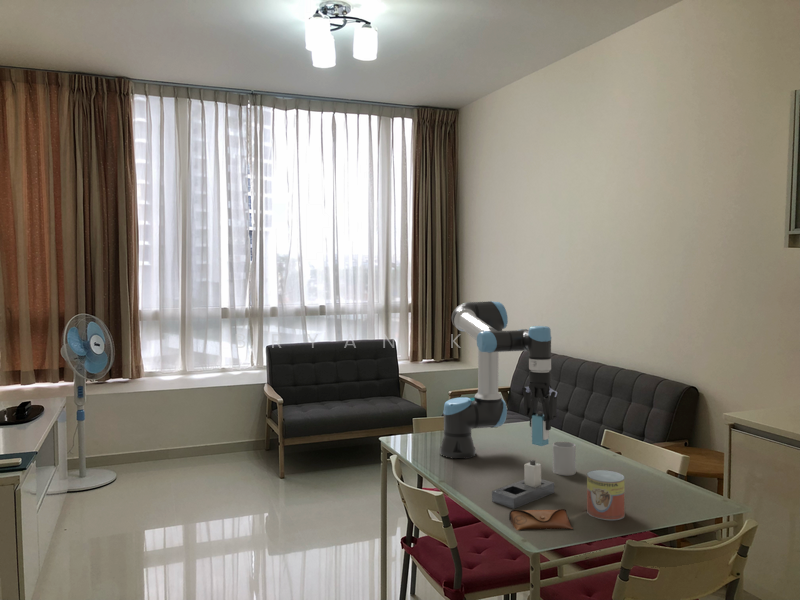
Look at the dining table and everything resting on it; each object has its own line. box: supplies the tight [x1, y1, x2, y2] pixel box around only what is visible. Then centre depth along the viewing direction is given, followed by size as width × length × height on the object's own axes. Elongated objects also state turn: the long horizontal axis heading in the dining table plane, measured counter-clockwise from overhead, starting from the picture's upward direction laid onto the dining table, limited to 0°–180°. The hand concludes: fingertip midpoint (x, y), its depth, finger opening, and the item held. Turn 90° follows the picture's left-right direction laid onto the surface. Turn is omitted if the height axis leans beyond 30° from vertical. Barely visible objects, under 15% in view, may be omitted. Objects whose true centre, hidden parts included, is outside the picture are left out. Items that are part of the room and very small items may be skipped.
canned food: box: [586, 469, 626, 521], centre depth 187 cm, size 11×11×12 cm
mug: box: [552, 440, 577, 476], centre depth 228 cm, size 12×8×11 cm
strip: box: [491, 478, 555, 510], centre depth 200 cm, size 22×9×4 cm, turn 131°
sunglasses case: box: [508, 508, 574, 532], centre depth 179 cm, size 18×7×7 cm
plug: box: [531, 411, 550, 447], centre depth 206 cm, size 4×4×11 cm
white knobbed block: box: [523, 459, 542, 488], centre depth 203 cm, size 4×4×11 cm
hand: (540, 437), depth 206 cm, fingers closed on plug, 4 cm apart
